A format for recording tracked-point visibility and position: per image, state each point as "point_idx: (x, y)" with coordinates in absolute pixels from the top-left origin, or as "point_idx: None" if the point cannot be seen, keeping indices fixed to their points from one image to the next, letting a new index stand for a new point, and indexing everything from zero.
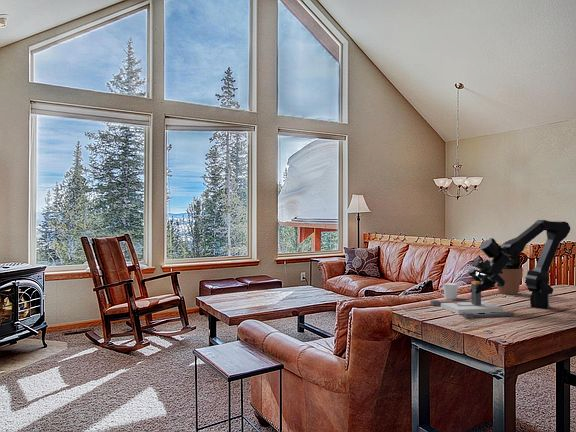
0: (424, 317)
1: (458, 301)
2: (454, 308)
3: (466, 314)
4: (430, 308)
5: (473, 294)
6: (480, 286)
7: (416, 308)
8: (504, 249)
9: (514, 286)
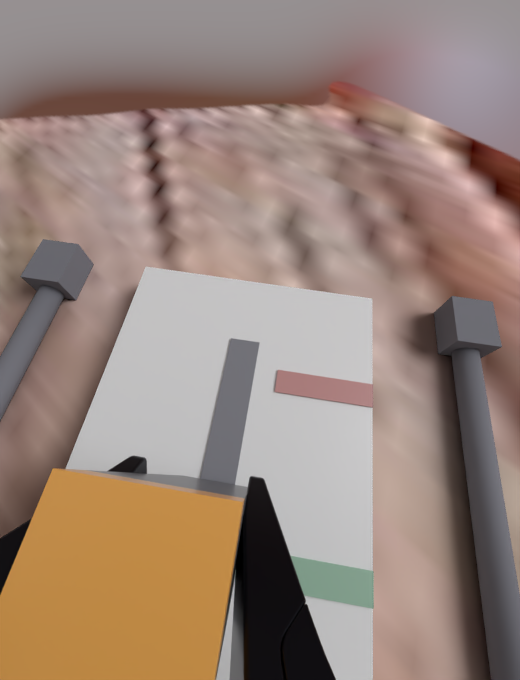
0: (189, 142)
1: (491, 543)
2: (193, 274)
3: (46, 243)
4: (358, 257)
5: (201, 481)
6: (8, 545)
7: (375, 202)
8: None
9: None
